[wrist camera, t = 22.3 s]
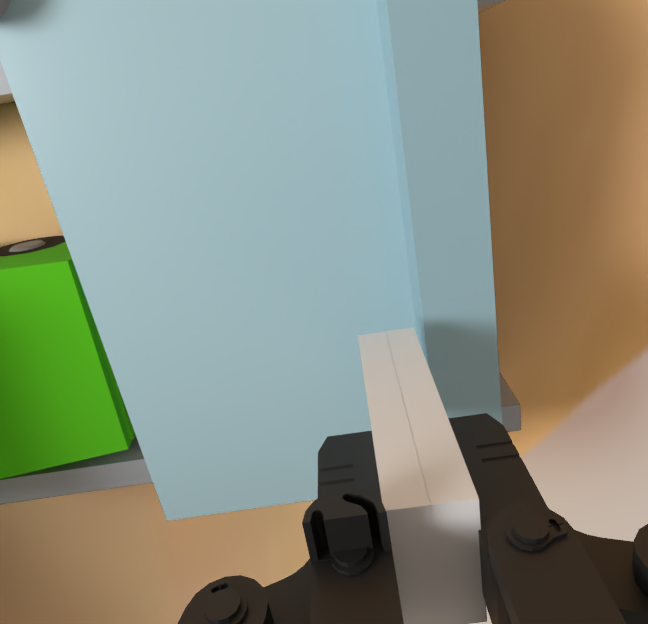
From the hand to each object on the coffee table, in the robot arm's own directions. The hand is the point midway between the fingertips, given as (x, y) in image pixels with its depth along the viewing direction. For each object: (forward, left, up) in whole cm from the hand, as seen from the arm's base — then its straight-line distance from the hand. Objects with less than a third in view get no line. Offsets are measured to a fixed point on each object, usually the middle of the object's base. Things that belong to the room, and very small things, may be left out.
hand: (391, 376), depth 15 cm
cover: (-3, +3, -9) cm, 10 cm away
